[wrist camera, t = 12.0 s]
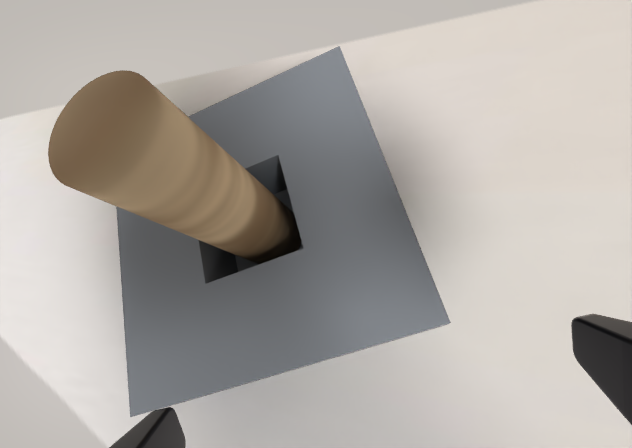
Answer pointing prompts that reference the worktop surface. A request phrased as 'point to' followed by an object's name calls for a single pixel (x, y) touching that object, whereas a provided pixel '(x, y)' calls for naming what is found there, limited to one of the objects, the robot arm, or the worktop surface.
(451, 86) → the worktop surface
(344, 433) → the worktop surface
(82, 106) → the pin
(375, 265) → the socket block
